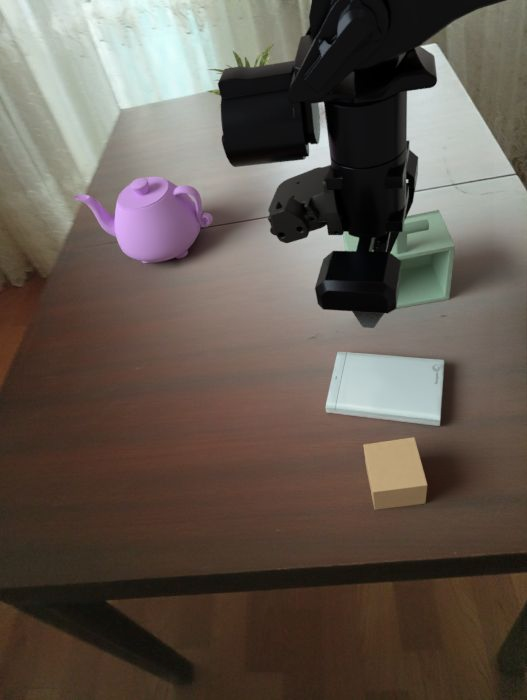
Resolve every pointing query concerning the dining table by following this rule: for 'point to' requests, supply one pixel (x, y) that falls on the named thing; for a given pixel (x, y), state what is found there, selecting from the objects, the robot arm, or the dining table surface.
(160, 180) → the teapot
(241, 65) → the house plant
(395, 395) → the hard drive
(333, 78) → the robot arm
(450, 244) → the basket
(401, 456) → the tan cardboard cube
